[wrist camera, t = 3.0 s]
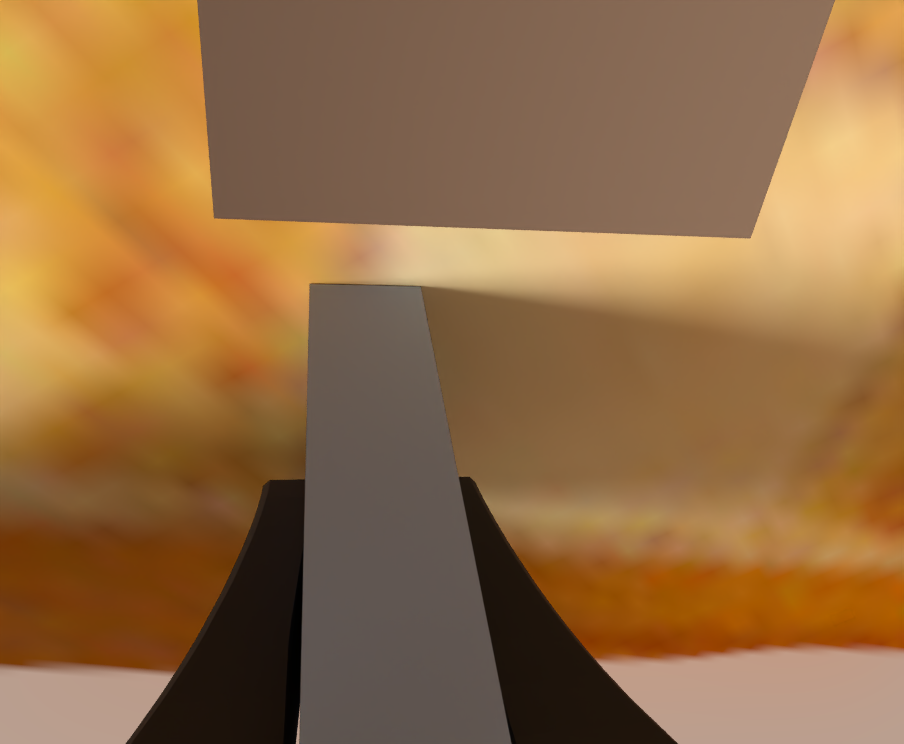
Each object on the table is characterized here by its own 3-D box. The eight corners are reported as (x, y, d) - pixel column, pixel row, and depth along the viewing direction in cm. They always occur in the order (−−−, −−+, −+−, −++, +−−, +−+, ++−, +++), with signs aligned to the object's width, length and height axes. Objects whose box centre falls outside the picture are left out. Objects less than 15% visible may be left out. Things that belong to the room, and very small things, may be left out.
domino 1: (420, 286, 15) (541, 894, 7) (402, 484, 17) (470, 1073, 9) (309, 283, 14) (295, 921, 6) (309, 486, 17) (300, 1098, 9)
